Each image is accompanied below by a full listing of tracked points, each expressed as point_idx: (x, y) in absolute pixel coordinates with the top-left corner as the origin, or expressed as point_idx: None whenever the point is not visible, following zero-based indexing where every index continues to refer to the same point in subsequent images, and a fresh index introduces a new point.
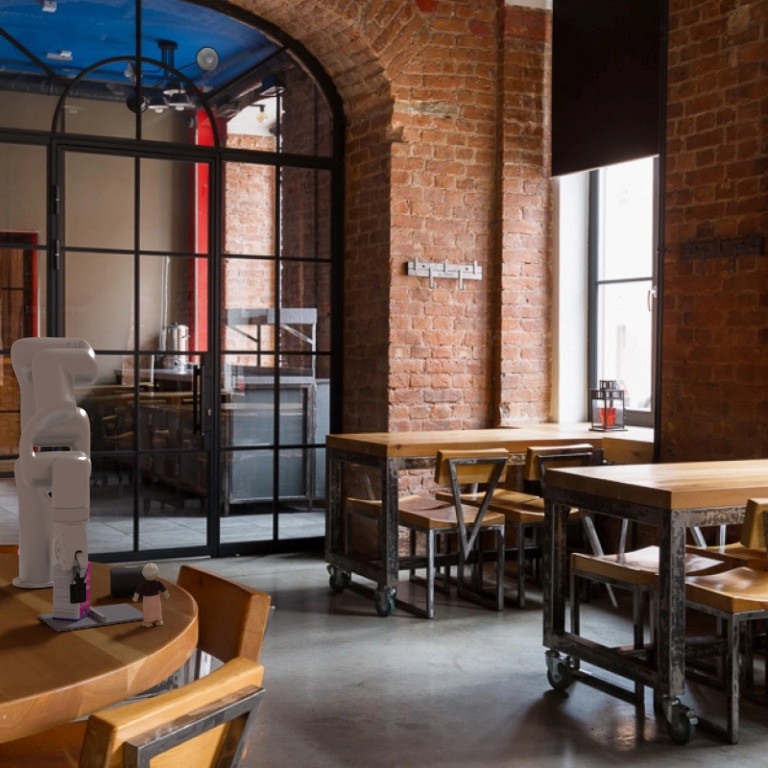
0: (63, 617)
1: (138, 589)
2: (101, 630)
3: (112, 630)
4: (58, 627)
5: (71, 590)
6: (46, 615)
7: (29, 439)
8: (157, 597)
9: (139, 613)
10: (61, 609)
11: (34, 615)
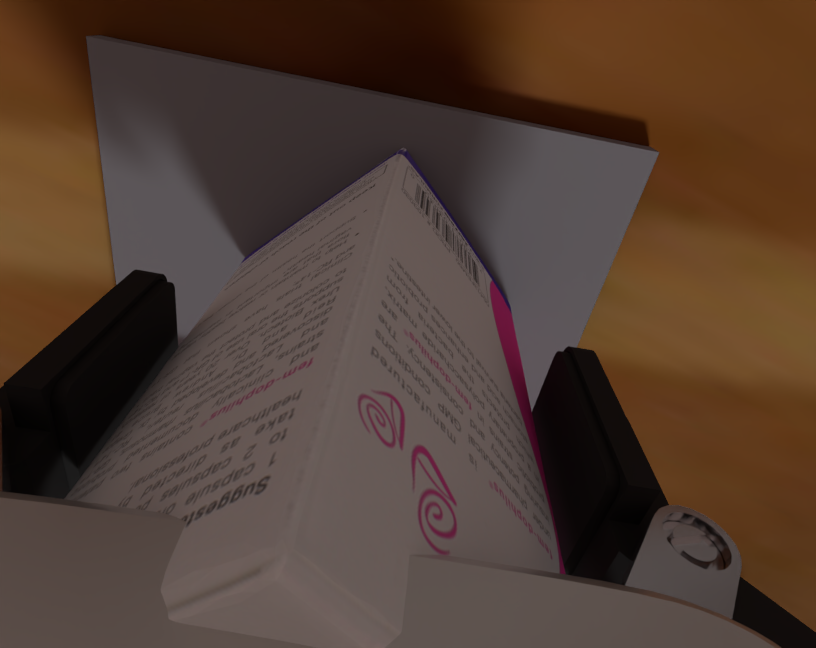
0: (318, 208)
1: None
2: (32, 291)
3: (5, 333)
4: (151, 72)
5: (62, 345)
6: (587, 189)
7: None
8: None
9: None
10: (318, 221)
11: (746, 158)
